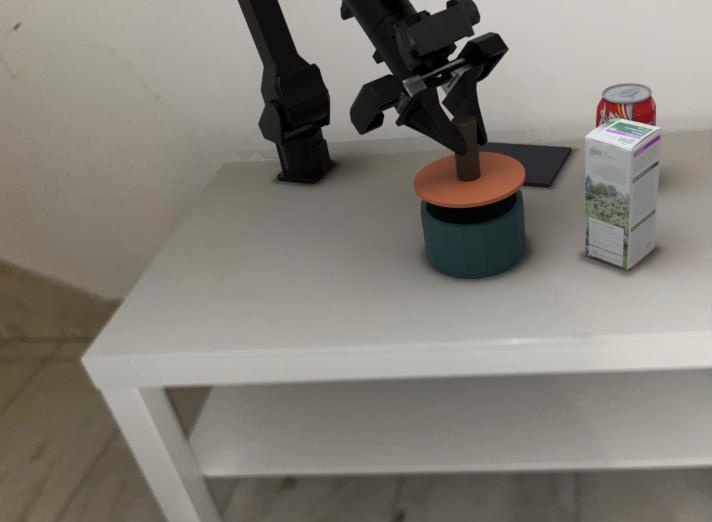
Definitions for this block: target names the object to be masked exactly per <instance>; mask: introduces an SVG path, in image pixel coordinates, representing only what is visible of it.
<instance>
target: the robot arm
mask: <svg viewBox="0 0 712 522" xmlns="http://www.w3.org/2000/svg"><path fill="white" fill-rule="evenodd" d="M237 2H238V5H239V8H240V10H241V12H242V15H243V18H244V21H245V23H246V25H247V28H248V31H249V33H250V35H251V38H252V41H253V44H254V45H255V48H256V51H257V53H258V56H259V58H260V62H261V63H262V67H263V68H262V76H261V82H260V93H261V98H262V100H263V103H264V107H263V109H262V112H261V114H260V117H259V120H258V123H257V125H258V128H259V130H260V133H261V134H262V137H263V139H265V140H266V141H268V142H271V143H273V144H275V148H276V152H277V156H278V159H279V163H280V164H279V165H280V168H281V171H280V172H279V173H278V174H276V179H277V180H281V181H290V182H291V181H292V182H302V183H316V182H317V181H318V180H319V179H321V178H322V177H323V176H324V175H325V174H326V173H327V172H328V171H329V170H331V168H332V167H334V165H336V160H335V159H333V158H332V159H331V154H330V150H329V145H328V140H327V139H326V138H325V137H324V133H323V129H322V128H323V127H327V126H330V125H331V95H330V91H329V89H328V88H327V86H326V83H325V81H324V78H323V75H322V72H321V69H320V67H319V65H317V64H316V63H315V62H314V63H309V62H308V61H307V60H306V59H304V58H303V57H302V56H301V55H300V53H299V52H298V50H297V47H296V44H295V42H294V39H293V36H292V34H291V31H290V28H289V26H288V23H287V21H286V17H285V15H284V13H283V10H282V7H281V4H280V2H279V0H237ZM445 7H446V8H445V9H442V10H440V11H437V12H435V13H432V14H431V12H429V11H428V10H426V9H423V10H420V11H417V9H416V8H415V6H414V5H413V3H412V2H411V0H341V4H340V9H339V12H340V18H341V20H342V21H347V20H349V19H352V18H354V19H355V20H356V22H357V23H358V25H359V27H360V28H361V30H363V32H364V34H365V35H366V37H367V38H368V40H369V41H370V43H371V44H372V46H373V48H374V49H375V50H374V52H373V54H372V57H371V58H372V59H373V60H374V62H375V63H376V65H379V64H382V63H384V64H385V65H386V67H387V68H388V70H389V72H390V73H387V74H385V75H383V76H380V77H378V78H376V79H373V80H371V81H368V82H367V83H364V84H363V85H362V86H361V88H360V89H359V91H358V93H357V95H356V97H355V99H354V101H353V103H352V104H351V106H350V108H349V119H350V123H351V124H352V126H353V127H354V129H355V130H356V131H357V133H358V134H359V135H360V136H363V135H366V134H368V133H370V132H372V131H375V130H377V129H379V128H382V126H383V124H384V120H385V113H384V112H385V111H387V110H389V109H392V108H394V110H395V111H396V113H397V114H398V117H397V118H396V120H395V122H394V124H395V126H397V127H398V128H399V127H401V126H405V127H407V128H409V129H412V130H413V131H416V132H417V133H420V134H422V135H424V136H426V137H428V138H430V139H431V140H433V141H435V142H437V143H438V144H440V145H442V146H443V147H445V148H447V149H448V150H450V151H452V152H453V153H454V152H455V153H457V154H458V155H460V156H464V155H465V154H466V153H467V152H468V149H467V147H466V145H465V143H464V141H463V139H462V138H461V136H460V134H459V133H458V131H457V130H456V128H455V127H454V125H453V124H452V122H451V119H450V117H449V116H448V115H447V113H446V112H445V110H444V108H445V109H446V110H447V111H448V112H449V113H450V115H451V116H452V117H453V118H454V117H456V116H459V115H473V116H475V118H476V125H477V136H478V144H479V145H481V146H483V145H485V144H486V143H487V142H489V139H488V135H487V131H486V127H485V123H484V118H483V114H482V112H481V111H482V110H481V107H480V103H479V102H480V101H479V96H478V89H477V87H478V83H480V82H482V81H484V80H485V79H486V78H487V77H489V75H490V74H491V73H492V72H493V70H495V68H496V67H497V66H498V64H499V63H500V62H501V60H502V59H503V58H504V56H505V55H506V54H507V52H508V51H509V50H510V48H509V47H508V45H507V44H506V42H505V41H504V39H503V38H502V37H501V35H500V34H499V33H498V32H492V31H488V32H487V33H484V34H481V35H478V36H476V37H474V38H472V39H470V40H467V42H466V43H465V45H464V46H463V47H462V49H461V51H459V53H458V54H457V56H456V58H454V59H451V60H449V57H450V56H451V55H453V54H455V51H456V49H458V45H457V44H456V42H458V41H461V40H462V39H464V38H471V37H473V36H475V35H476V34H475V31H474V26H476V25H478V24H479V23H481V13H480V11H479V7H478V6H477V4H476V2H475V1H474V0H447V1H446V2H445ZM439 87H440V88H441V89H442V91H443V92H444V94H445V95H446V96H445V97H444V99H443V100H441V102H440V97H439V92H438V88H439ZM442 105H443V106H444V108H443V107H442ZM455 153H454V154H455Z"/></svg>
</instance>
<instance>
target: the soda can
mask: <svg viewBox="0 0 712 522" xmlns="http://www.w3.org/2000/svg"><path fill="white" fill-rule="evenodd" d="M652 94H653V91H652V89H651V87H649V86H647V85H645V84H641V83H635V82H634V83H633V82H624V83H616V84H613V85H610V86H608V87H606V88H605V89H604V90H602V92H601V98H600V100H599V102H598V104H597V106H596V113H595V128H597V127H598V126H600V125H601V124H603V123H605V122H606V121H609V120H610V119H612V118H615V117H616V118H621V119H625V120H630V121H634V122H639V123H643V124H647V125H651V126H656V127H657V105H656V101H655V99H654V98H653V96H652Z"/></svg>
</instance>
